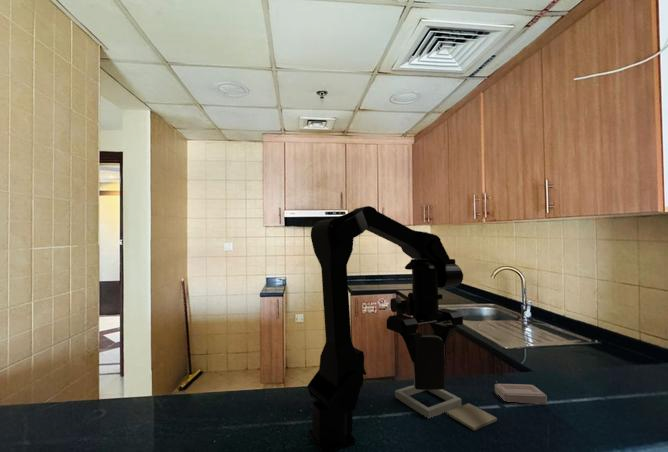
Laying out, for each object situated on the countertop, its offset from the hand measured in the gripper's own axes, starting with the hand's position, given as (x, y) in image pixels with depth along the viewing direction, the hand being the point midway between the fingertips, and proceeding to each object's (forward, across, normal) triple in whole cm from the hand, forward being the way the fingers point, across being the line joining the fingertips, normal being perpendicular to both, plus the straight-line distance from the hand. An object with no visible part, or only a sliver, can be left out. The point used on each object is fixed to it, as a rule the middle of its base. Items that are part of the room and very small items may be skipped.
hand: (426, 359), depth 67 cm
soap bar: (+10, -20, +9) cm, 24 cm away
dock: (+9, 0, 0) cm, 9 cm away
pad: (+9, -3, +9) cm, 13 cm away
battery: (+6, 0, 0) cm, 6 cm away
